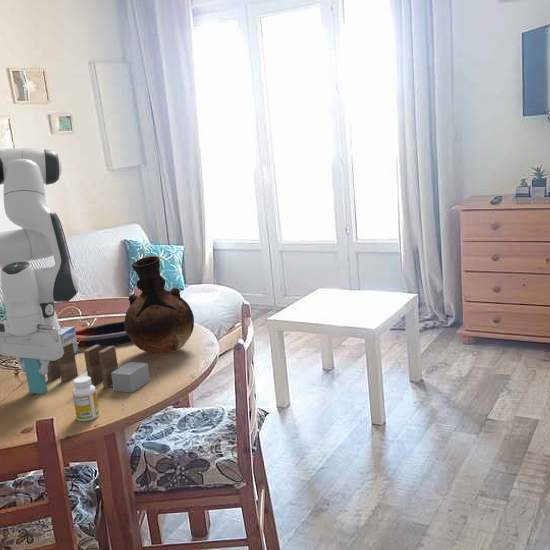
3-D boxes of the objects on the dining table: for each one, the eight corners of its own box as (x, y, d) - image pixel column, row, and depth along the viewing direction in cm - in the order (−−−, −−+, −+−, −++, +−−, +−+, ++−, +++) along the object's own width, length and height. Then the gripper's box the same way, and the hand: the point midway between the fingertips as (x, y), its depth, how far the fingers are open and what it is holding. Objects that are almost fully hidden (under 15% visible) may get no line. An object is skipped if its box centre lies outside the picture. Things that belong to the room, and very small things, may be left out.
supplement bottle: (91, 410, 158) (85, 373, 155) (104, 414, 154) (98, 377, 152) (72, 418, 154) (65, 381, 151) (85, 423, 150) (78, 385, 148)
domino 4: (89, 385, 174) (83, 350, 172) (101, 378, 179) (95, 344, 176) (93, 385, 173) (88, 351, 171) (105, 378, 178) (100, 345, 176)
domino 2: (48, 380, 180) (42, 347, 178) (60, 373, 185) (55, 341, 183) (52, 380, 180) (46, 347, 178) (64, 374, 184) (59, 341, 182)
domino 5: (103, 386, 172) (98, 352, 170) (115, 379, 176) (110, 345, 174) (108, 387, 171) (103, 352, 169) (120, 380, 176) (114, 346, 174)
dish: (157, 341, 208) (155, 326, 207) (60, 354, 203) (57, 339, 202) (157, 328, 223) (155, 314, 222) (67, 339, 218) (64, 326, 217)
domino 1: (43, 394, 170) (36, 359, 168) (29, 392, 173) (23, 357, 170) (47, 391, 172) (41, 357, 170) (33, 390, 174) (27, 355, 172)
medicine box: (66, 361, 195) (61, 334, 194) (53, 361, 196) (48, 334, 195) (79, 352, 203) (74, 326, 201) (66, 352, 204) (62, 326, 202)
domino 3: (61, 381, 178) (55, 348, 176) (73, 375, 183) (68, 342, 181) (65, 382, 178) (60, 348, 175) (78, 375, 182) (72, 342, 180)
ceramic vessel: (201, 340, 204) (190, 249, 197) (192, 359, 187) (180, 260, 180) (137, 345, 205) (124, 254, 198) (122, 364, 188) (108, 266, 181)
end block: (113, 390, 169) (111, 372, 168) (132, 379, 176) (129, 362, 175) (131, 392, 166) (129, 374, 165) (149, 380, 173) (147, 363, 172)
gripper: (64, 322, 166) (72, 371, 169) (7, 318, 175) (16, 365, 178) (47, 329, 161) (55, 380, 164) (-11, 325, 169) (-2, 373, 172)
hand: (35, 372), depth 171 cm, fingers closed on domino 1, 5 cm apart
